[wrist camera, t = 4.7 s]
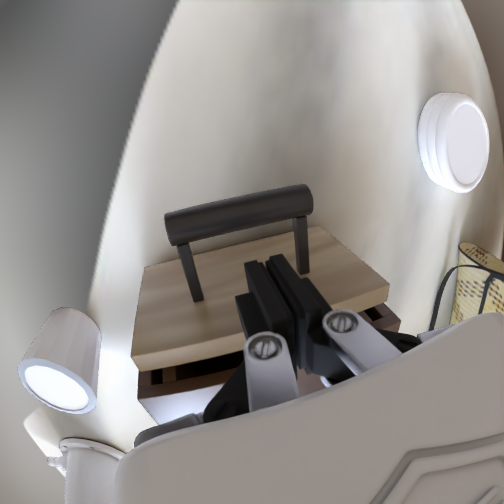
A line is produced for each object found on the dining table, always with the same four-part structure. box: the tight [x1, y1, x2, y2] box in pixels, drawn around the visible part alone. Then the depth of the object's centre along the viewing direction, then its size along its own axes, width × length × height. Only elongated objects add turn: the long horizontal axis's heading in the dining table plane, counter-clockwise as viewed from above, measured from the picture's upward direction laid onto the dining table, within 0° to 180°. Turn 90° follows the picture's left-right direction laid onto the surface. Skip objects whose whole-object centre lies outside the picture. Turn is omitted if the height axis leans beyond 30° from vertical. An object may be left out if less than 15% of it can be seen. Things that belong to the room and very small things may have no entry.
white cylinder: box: [18, 307, 102, 414], centre depth 18 cm, size 7×7×7 cm
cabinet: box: [137, 303, 401, 425], centre depth 21 cm, size 18×15×11 cm
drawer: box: [131, 184, 390, 384], centre depth 19 cm, size 22×13×9 cm, turn 8°
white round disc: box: [418, 92, 490, 193], centre depth 20 cm, size 10×10×4 cm
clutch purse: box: [429, 242, 504, 331], centre depth 28 cm, size 30×7×15 cm, turn 22°
